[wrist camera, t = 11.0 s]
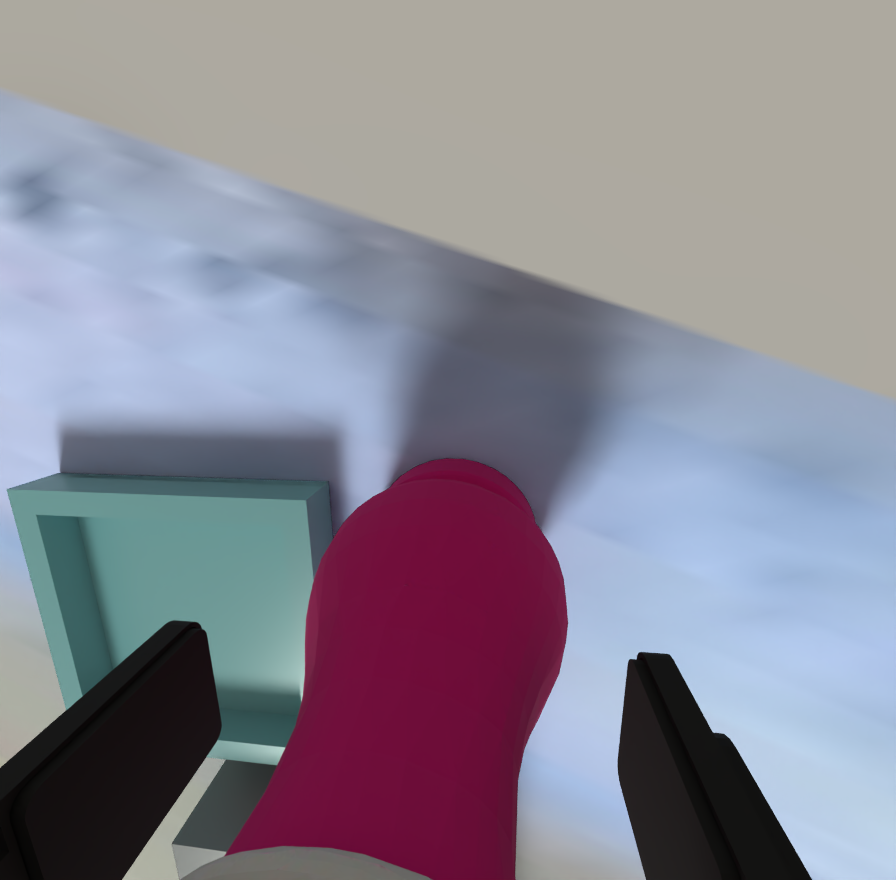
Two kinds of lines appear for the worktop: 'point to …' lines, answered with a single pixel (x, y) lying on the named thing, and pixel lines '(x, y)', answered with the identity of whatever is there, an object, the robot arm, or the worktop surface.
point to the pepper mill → (414, 690)
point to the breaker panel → (220, 814)
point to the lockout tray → (181, 584)
